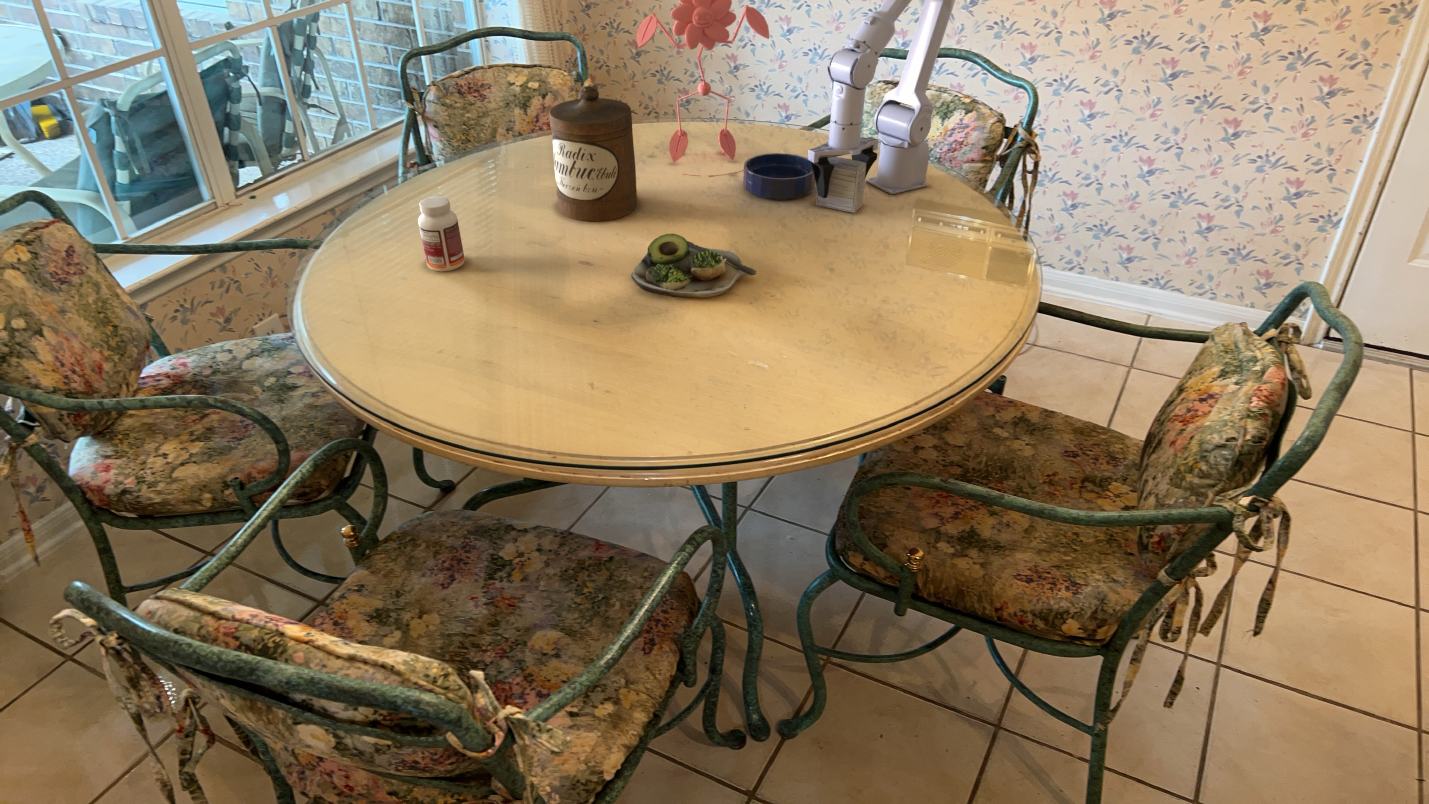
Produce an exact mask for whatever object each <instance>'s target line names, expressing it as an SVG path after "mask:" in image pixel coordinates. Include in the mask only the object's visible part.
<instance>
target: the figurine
mask: <svg viewBox="0 0 1429 804" xmlns="http://www.w3.org/2000/svg"><path fill="white" fill-rule="evenodd" d="M678 1H679V3H680V4H679V5H677V6H675V7H674V8H673V9H672V10H671V12H670V14H669V15H670V18H671V19H673V20H674V21H675V22H674V25H673V27H672V34H673V36H675V37H681V36H684V39H685V40H684V41H685V42H684V43H681V44H678V43H676V41H675V39H673V37H672V36H671V34H670V33H669V31H667V29H666V27H665V26H663V24H662V22H661V21H660V20H659V19H658V17H657V16H656V13H655V12H652V13H651V14H650V15H647V16H646V17H645V18H644V19H643V20H642V22H640V24H639V26H638V28H637V31H636V43H637V46H638V48H639V49H642V48H643V47H644V46H645V45H646V44H647V43H649V42H650V41H651V40H652V38H653V37H654V35H655V34H656V32H657V31H656V30H657V28H658V26H659V27H660V29H661V30H662V31H663V33H664V34H665V36H666V37H668V39H669V40H670V42H671V43H672V44H673V46H674V47H676V49H680V48H683V47H686V48H688V50H695V49H697V48H698V46H699V44H700V45H701V46H700V48H699V50H698V52H697V53H698V54H697V56H696V60H697V64H698V68H699V71H700V76H701V79H702V82H700V83H699V84H698V86H697V90H696V91H694V92H692V93H689V94H687V95H685V96H683V97H680V98H677V99H676V109H677V110H676V111H677V119H678V129H677V130H675V131H674V133H673V134H672V135H671V138H670V140H669V143H668V144H669V145H668V146H669V147H668V151H669V155H670V158H671V160H672V163H676V162H677V161H678V160H679V159H680V158H682V157H683V156H684V154H685V152H686V151H687V149H688V145H689V138H688V136H689V135H688V133H687V131H686V130H685V129H682V124H681V115H680V103H679V101H681V100H684V99H686V98H689V97H692V96H694V95H696V94H699V95H700V96H703V97H706V96H709V95H710V93H711V94H713V95H716V96H718V97H720V98H722V99H725V100H726V111H725V121H724V128H721V129H720V130H719V132H718V144H719V147H720V149H721V155H724V154H725V155H726V156H727V158H729V159H730V160H732V161H734V159H735V157H736V150H737V145H736V140H735V138H734V135H733V134H732V133H731V132H730V130H729V129H727V128H728V117H729V105H730V99H729V98H728V97H727V96H724V95H722V94H721V93H720V94H719V93H717V92H716V91H713V90H712V86H711V84H710V83H709V82H707V81H706V79H705V74H704V70H703V66H702V62H701V55H702V52H703V49H705V50H707V51H712V50H713V49H714V48H715V46H716V45H717V43H718V44H729V45H730V44H731V45H734V42H735V41H736V37H737V35H738V33H739V31H740V28H741V26H742V23H743V21H744V19H746V22H747V24H748V25H749V27H750V28H751V29H752V30H753V32H754V33H756V34H758V35H759V36H761V37H762V38H764V39H767V40H769V39H770V29H769V24H768V22H767V20H766V18H765V16H764V15H763V14H762V13H761V12H760V11H759V10H758V9H756V8H755V7H753V6H750V5H748V4H746V5H744V8H743V9H744V10H743V11H742V14H741V16H740V18H739V22H738V24H737V26H736V28H735V31H734V33H733V36H732V38H731V40H729V39H730V31H729V30H728V29H727V28H728V27H730V26H732V25H733V24H734V23H735V22H736V20H737V14H736V13H734V12H733V11H731V10H730V9H731V8H732V3H733V2H732V1H733V0H678ZM651 154H652V155H653V154H654V152H652V153H651ZM742 172H744V169H742V170H738V171H735V172H731V173H725V174H723V176H727V175H732V174H734V175H737V174H739V173H742ZM682 175H683V176H691V177H700V175H697V174H688V173H687V174H686V173H682ZM720 176H722V174H715V175H714V174H713V175H709V178H714V177H720Z"/></svg>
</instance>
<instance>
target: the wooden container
mask: <svg viewBox="0 0 1429 804" xmlns="http://www.w3.org/2000/svg"><path fill="white" fill-rule="evenodd" d="M599 96H600V92H599V90H598V89H597V88H594V87H593V86H584V87H583V88H582V89H581V90H579V92H578V97H579V99H571V100H567V101H562V102H561V103H560V102H559V103H557V104H556V105H554V106H552V107H551V108H550V110H549V112H548V113H549V115H548V116H549V126H550V131H551V140H552V141H551V142H552V151H553V152H552V153H553V168H554V179H555V188H556V197H557V198H556V199H557V206H558V210H559V212H560V213H561V214H563V215H564V216H566V217H568V218H570V219H575V220H578V221H585V222H603V221H605V222H606V221H611V220H616V219H620V218H622V217H625V216H627V215H629V214H631V213H632V212H633V211H635V210H636V209H637V206H638V195H637V194H638V192H637V171H636V157H635V146H634V145H635V144H634V134H633V114H632V109H631V106H630V105H629V104H628V103H625V102H623V101H621V100H617V99H612V98H606V97H605V98H604V97H599Z"/></svg>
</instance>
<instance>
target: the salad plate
mask: <svg viewBox="0 0 1429 804" xmlns="http://www.w3.org/2000/svg"><path fill="white" fill-rule="evenodd" d="M757 273H758V272H757V270H755V269H754V268H751V267H749V266H746V265H745V264H743V261H742V259H741V258H740V257H739V256H738V255H737V254H735V253H734V252H732V251H730V250H725V249H717V248H708V247H703V246H700V245H698V244H695V243H694V242H692V241H689V240H687V239H686V238H685V237H683V235H680V234H676V233H665V234H661V235H659V236H658V237H656V238H654V239H653V240H652V241H651V242H650V244H649V245H648V246H647V252H646V253H645V255H644V257H643V258H642V259H641V260H640V262H639V263H638V264H637V266H635V267H634V269H633V271H632V272H631V275H630V276H631V279H632V281H633V282H634V283H635V284H636V285H637V286H638V287H639V288H640V289H641V290H643V291H645V292H649V293H651V294H655V295H661V296H662V295H664V296H669V297H673V298H674V297H675V298H696V299H697V298H698V299H709V298H714V297H717V296H721V295H724V294H726V293H728V292H729V291H730V290H731V289H732V287H733V286H734V285H735V284H736V281H738V280H739V279H740V278H741V277H742V276H755V275H757Z"/></svg>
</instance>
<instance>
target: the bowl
mask: <svg viewBox="0 0 1429 804" xmlns="http://www.w3.org/2000/svg"><path fill="white" fill-rule="evenodd" d="M743 170H744V171H743V178H742V179H743V181H742V182H743V183H742V185H743V187H744V189H745V190H746V191H748V192H749V193H750V194H752V195H754V196H757V197H759V198H762V199H766V200H772V201H773V200H774V201H788V200H795V199H799V198H803V197H805V196H806V195H808V194H811V193H812V192H813V191H814V190H815V186H816V182H815V178H814V174H813V172H812V169H811V167H810V165H809V163H808V157H804V156H800V155H798V154H792V153H779V152H774V153H764V154H758V155H754V156H752V157H749V158H748V159H747V160H746V161H744V163H743Z"/></svg>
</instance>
